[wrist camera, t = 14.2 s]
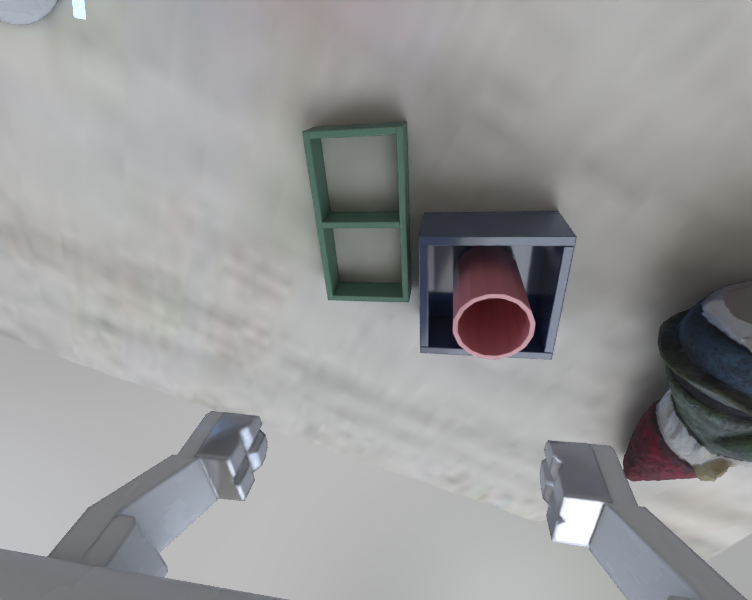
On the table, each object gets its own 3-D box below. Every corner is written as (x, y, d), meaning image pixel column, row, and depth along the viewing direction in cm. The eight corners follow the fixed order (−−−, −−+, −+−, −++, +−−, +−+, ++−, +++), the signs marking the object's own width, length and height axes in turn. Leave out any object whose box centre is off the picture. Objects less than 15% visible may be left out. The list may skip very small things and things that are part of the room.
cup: (454, 244, 38) (453, 293, 30) (521, 244, 36) (540, 294, 28) (452, 299, 41) (451, 357, 33) (514, 301, 40) (529, 361, 32)
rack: (313, 126, 35) (301, 131, 32) (407, 121, 33) (403, 126, 31) (335, 286, 43) (327, 300, 41) (411, 288, 42) (408, 302, 39)
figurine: (625, 327, 56) (707, 421, 51) (537, 385, 52) (617, 494, 47) (872, 197, 29) (1091, 368, 24) (732, 296, 25) (963, 525, 20)
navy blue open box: (423, 212, 37) (418, 236, 32) (558, 210, 35) (576, 236, 30) (424, 318, 43) (420, 353, 38) (539, 322, 41) (551, 360, 36)
